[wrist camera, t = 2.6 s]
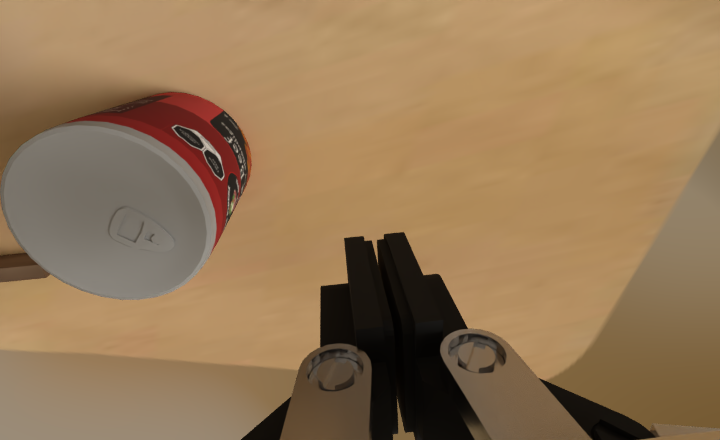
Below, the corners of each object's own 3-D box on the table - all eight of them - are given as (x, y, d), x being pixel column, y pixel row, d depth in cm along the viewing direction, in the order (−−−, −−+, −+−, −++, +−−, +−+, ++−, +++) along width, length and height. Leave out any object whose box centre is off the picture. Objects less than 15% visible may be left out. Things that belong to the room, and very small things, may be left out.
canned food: (244, 218, 28) (201, 316, 18) (122, 192, 27) (2, 283, 17) (264, 110, 25) (226, 155, 15) (129, 74, 24) (-12, 98, 14)
